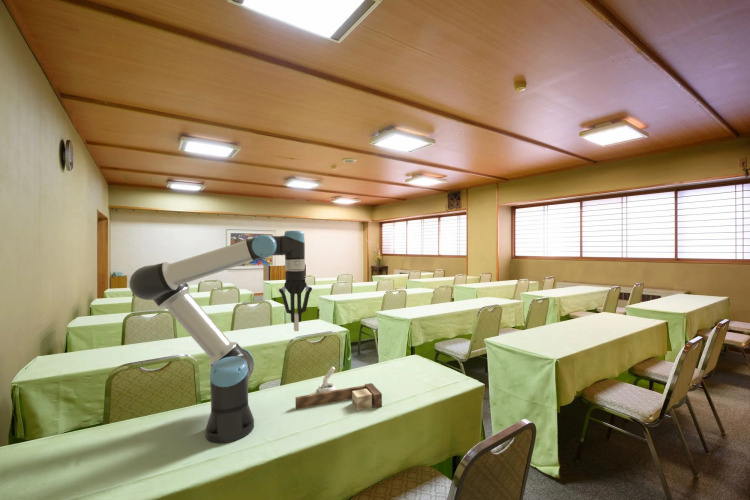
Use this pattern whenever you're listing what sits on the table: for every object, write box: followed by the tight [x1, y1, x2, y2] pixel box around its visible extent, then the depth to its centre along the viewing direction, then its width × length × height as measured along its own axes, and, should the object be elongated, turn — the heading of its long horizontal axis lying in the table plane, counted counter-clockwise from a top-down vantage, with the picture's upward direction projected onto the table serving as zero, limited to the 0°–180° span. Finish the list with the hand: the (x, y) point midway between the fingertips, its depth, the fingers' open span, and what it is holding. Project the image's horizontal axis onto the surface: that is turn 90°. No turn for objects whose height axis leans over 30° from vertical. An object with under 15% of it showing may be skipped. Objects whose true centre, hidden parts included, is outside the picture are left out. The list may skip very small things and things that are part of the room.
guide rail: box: [295, 382, 383, 410], centre depth 132 cm, size 32×12×5 cm, turn 111°
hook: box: [317, 366, 336, 393], centre depth 148 cm, size 8×12×7 cm
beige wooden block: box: [351, 389, 373, 411], centre depth 133 cm, size 6×6×5 cm
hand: (296, 330), depth 134 cm, fingers closed
